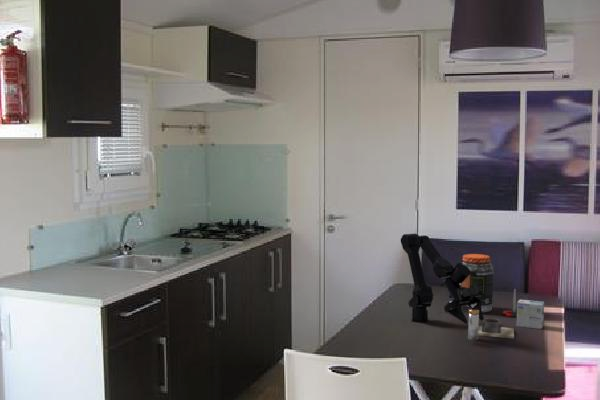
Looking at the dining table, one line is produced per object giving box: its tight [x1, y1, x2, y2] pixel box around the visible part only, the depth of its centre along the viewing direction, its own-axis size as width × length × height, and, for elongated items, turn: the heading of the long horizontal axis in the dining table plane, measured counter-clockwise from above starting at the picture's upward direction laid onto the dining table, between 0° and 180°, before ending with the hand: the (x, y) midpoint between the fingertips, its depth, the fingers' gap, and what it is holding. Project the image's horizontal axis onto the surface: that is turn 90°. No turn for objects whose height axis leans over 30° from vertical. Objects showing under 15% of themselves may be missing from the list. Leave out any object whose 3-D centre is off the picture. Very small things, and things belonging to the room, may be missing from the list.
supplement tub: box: [460, 253, 494, 313], centre depth 329 cm, size 16×16×26 cm
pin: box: [467, 309, 480, 341], centre depth 281 cm, size 4×4×12 cm
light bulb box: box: [516, 299, 545, 330], centre depth 302 cm, size 11×7×11 cm, turn 65°
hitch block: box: [478, 317, 515, 339], centre depth 291 cm, size 18×12×5 cm, turn 74°
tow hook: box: [502, 288, 517, 318], centre depth 321 cm, size 8×13×9 cm
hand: (474, 321), depth 281 cm, fingers open, 9 cm apart
